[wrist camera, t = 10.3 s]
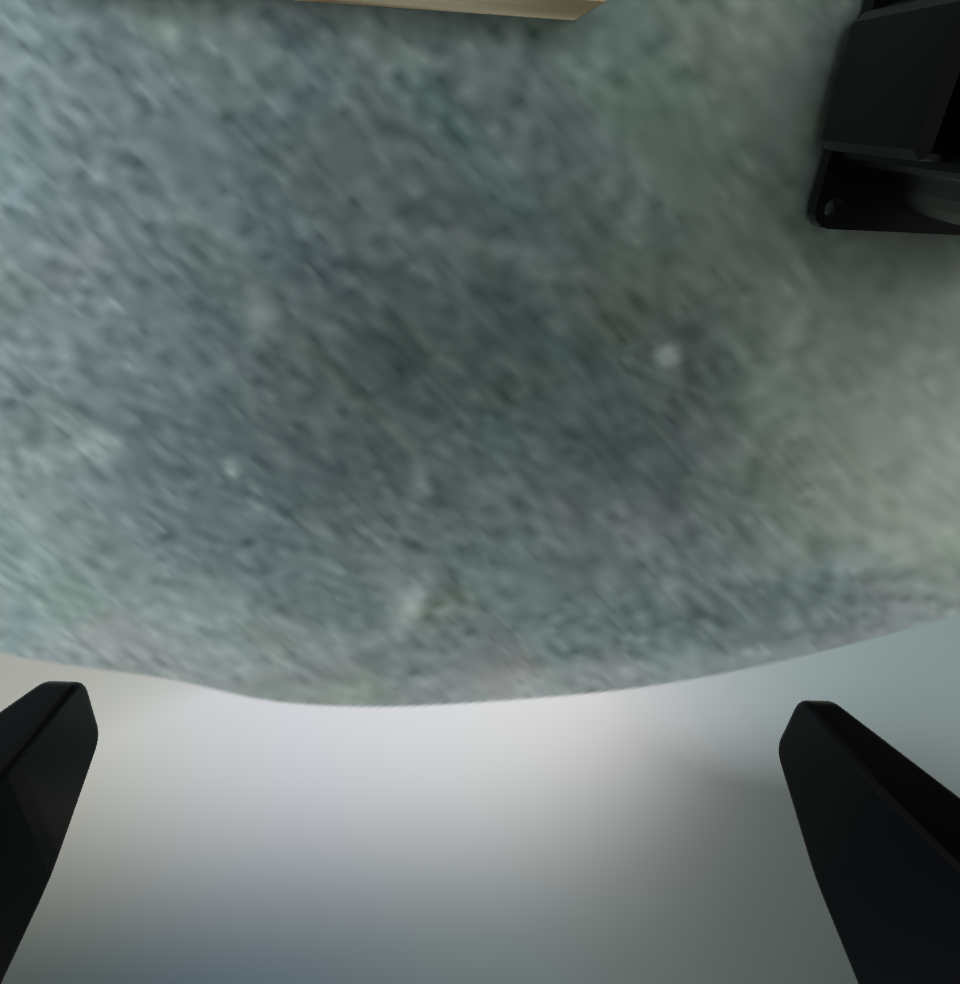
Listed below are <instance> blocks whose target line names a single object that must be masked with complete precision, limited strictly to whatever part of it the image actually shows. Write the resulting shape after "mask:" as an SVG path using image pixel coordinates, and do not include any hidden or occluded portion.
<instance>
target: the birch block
mask: <svg viewBox="0 0 960 984" xmlns="http://www.w3.org/2000/svg"><path fill="white" fill-rule="evenodd" d="M296 1H310V2H324V3H338V4H351V5H365V6H379V7H393V8H407V9H421V10H435V11H449V12H463V13H477V14H491V15H505V16H519V17H533V18H547V19H561V20H576V19H578V18H579V17H581V16H583V15H584V14H586V13H588V12H589V11H591V10H593V9H594V8H596V7H598V6H599V5H601V4H603V3H604V2H606V0H296Z"/></svg>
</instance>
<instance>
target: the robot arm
mask: <svg viewBox="0 0 960 984" xmlns="http://www.w3.org/2000/svg"><path fill="white" fill-rule="evenodd" d="M822 142H823V144H824V146H825V149H824V152H823V156H822V159H821V163H820V166H819V170H818V174H817V177H816V181H815V184H814V188H813V192H812V195H811V199H810V202H809V206H808V216H809V219H810V221H811V222H812V223H813V224H814V225H817V226H820V227H824V228H827V229H843V230H865V231H887V232H909V233H931V234H953V235H960V0H866V1H865V5H864V9H863V12H862V15H861V16H860V17H859V18H858V19H857V20H856V21H855V22H854V23H853V25H852V28H851V32H850V35H849V39H848V43H847V46H846V50H845V53H844V57H843V61H842V64H841V68H840V72H839V75H838V79H837V83H836V86H835V90H834V94H833V97H832V101H831V104H830V108H829V112H828V115H827V119H826V123H825V126H824V130H823V134H822ZM832 199H835V201H836V208H835V209H834V211H833V213H831V214H830V215H829V216H826V215H825V214H824V211H825V207H826V205H827V203H828V202H829V201H830V200H832ZM97 741H98V727H97V723H96V720H95V716H94V713H93V709H92V706H91V702H90V699H89V696H88V692H87V690H86V688H85V686H84V685H83V684H82V683H79V682H62V681H61V682H59V681H49V682H45V683H43V684H40V685H39V686H37V687H35V688H34V689H33V690H31V691H30V692H28V693H27V694H25V695H24V696H23V697H21V698H20V699H18V700H17V701H15V702H14V703H13V704H11V705H10V706H8V707H7V708H5V709H4V710H3V711H1V712H0V984H1V983H2V981H3V978H4V976H5V974H6V972H7V970H8V968H9V965H10V963H11V961H12V959H13V957H14V955H15V953H16V951H17V948H18V946H19V944H20V942H21V940H22V938H23V935H24V933H25V931H26V929H27V927H28V925H29V923H30V921H31V918H32V916H33V914H34V912H35V910H36V908H37V906H38V904H39V901H40V899H41V897H42V895H43V892H44V890H45V888H46V885H47V883H48V881H49V879H50V876H51V873H52V871H53V868H54V866H55V863H56V860H57V858H58V855H59V852H60V849H61V847H62V844H63V841H64V838H65V835H66V832H67V829H68V827H69V824H70V821H71V818H72V815H73V812H74V809H75V806H76V804H77V801H78V798H79V795H80V792H81V789H82V786H83V784H84V781H85V778H86V775H87V772H88V769H89V766H90V763H91V761H92V757H93V755H94V752H95V749H96V745H97ZM779 757H780V762H781V765H782V769H783V772H784V775H785V779H786V782H787V785H788V789H789V792H790V795H791V799H792V802H793V805H794V808H795V812H796V815H797V819H798V822H799V825H800V828H801V832H802V835H803V839H804V842H805V845H806V849H807V852H808V855H809V859H810V862H811V865H812V867H813V871H814V874H815V877H816V879H817V882H818V884H819V887H820V890H821V892H822V895H823V898H824V900H825V903H826V905H827V908H828V910H829V912H830V915H831V917H832V920H833V922H834V925H835V927H836V930H837V932H838V935H839V937H840V939H841V942H842V944H843V947H844V949H845V952H846V954H847V957H848V959H849V961H850V964H851V967H852V969H853V972H854V974H855V976H856V979H857V981H858V984H960V798H959V797H958V796H957V795H955V794H954V793H953V792H951V791H950V790H949V789H947V788H946V787H945V786H943V785H942V784H941V783H940V782H938V781H937V780H936V779H934V778H933V777H932V776H930V775H929V774H928V773H926V772H925V771H924V770H922V769H921V768H920V767H919V766H917V765H916V764H915V763H913V762H912V761H910V760H909V759H908V758H906V757H905V756H904V755H903V754H902V753H900V752H899V751H898V750H896V749H895V748H894V747H892V746H891V745H890V744H888V743H887V742H886V741H885V740H883V739H882V738H881V737H879V736H878V735H877V734H875V733H874V732H873V731H871V730H870V729H869V728H867V727H866V726H865V725H863V724H862V723H861V722H859V721H858V720H857V719H855V718H854V717H853V716H852V715H850V714H849V713H848V712H846V711H845V710H844V709H842V708H841V707H840V706H838V705H837V704H835V703H833V702H829V701H802V702H800V703H799V704H798V705H797V707H796V708H795V710H794V712H793V714H792V716H791V718H790V720H789V722H788V725H787V727H786V729H785V731H784V733H783V735H782V737H781V740H780V743H779Z"/></svg>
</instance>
